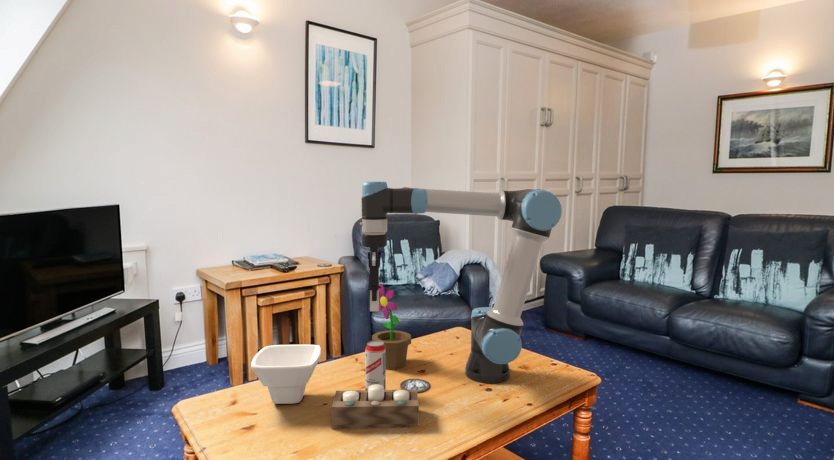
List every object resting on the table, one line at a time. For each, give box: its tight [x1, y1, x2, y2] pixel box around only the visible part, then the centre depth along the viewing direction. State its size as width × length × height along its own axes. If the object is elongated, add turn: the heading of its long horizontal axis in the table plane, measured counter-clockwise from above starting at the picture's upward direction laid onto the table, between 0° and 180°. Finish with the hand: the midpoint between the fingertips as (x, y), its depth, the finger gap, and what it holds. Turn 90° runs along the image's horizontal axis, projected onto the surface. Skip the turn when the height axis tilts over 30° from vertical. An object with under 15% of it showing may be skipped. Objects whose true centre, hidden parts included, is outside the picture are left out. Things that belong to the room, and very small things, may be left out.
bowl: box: [250, 343, 322, 405], centre depth 143 cm, size 19×19×14 cm
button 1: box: [343, 390, 359, 401], centre depth 133 cm, size 4×4×5 cm
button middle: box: [368, 384, 384, 401], centre depth 133 cm, size 4×4×5 cm
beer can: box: [364, 340, 387, 390], centre depth 147 cm, size 6×6×16 cm
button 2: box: [394, 389, 409, 400], centre depth 133 cm, size 4×4×5 cm
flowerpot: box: [371, 283, 412, 371], centre depth 171 cm, size 14×14×30 cm
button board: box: [331, 389, 420, 430], centre depth 132 cm, size 23×10×6 cm, turn 93°
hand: (374, 310), depth 145 cm, fingers closed
